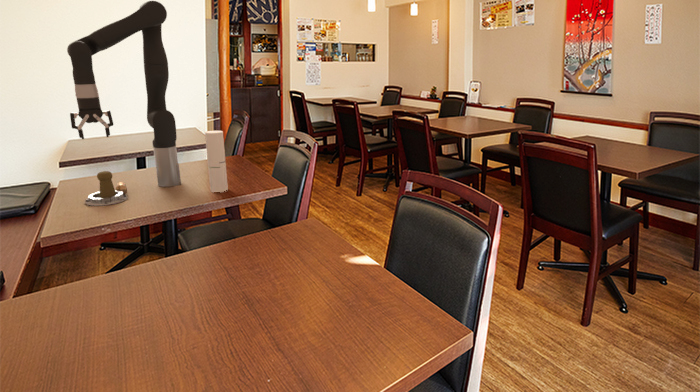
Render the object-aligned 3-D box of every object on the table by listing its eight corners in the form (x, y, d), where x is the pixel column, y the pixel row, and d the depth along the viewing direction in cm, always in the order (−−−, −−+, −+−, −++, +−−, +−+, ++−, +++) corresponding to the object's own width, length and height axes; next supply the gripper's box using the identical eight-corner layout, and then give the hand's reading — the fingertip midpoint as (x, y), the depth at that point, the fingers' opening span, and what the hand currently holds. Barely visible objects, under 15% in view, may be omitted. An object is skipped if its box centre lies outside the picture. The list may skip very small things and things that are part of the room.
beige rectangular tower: (231, 190, 186) (226, 131, 178) (216, 193, 181) (210, 133, 173) (222, 186, 190) (217, 129, 183) (207, 190, 185) (201, 131, 178)
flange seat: (127, 192, 182) (126, 187, 181) (128, 202, 169) (127, 197, 168) (86, 197, 175) (84, 191, 174) (83, 208, 162) (82, 202, 162)
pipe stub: (116, 190, 185) (114, 181, 183) (127, 189, 186) (125, 179, 185) (116, 195, 178) (114, 185, 176) (127, 194, 180) (126, 184, 178)
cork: (110, 201, 169) (105, 173, 166) (96, 200, 170) (91, 173, 166) (120, 196, 175) (116, 170, 171) (106, 195, 175) (102, 169, 172)
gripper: (108, 94, 174) (115, 134, 179) (66, 96, 167) (75, 138, 172) (108, 96, 168) (115, 137, 173) (65, 98, 161) (74, 141, 166)
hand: (95, 137), depth 172 cm, fingers open, 8 cm apart
